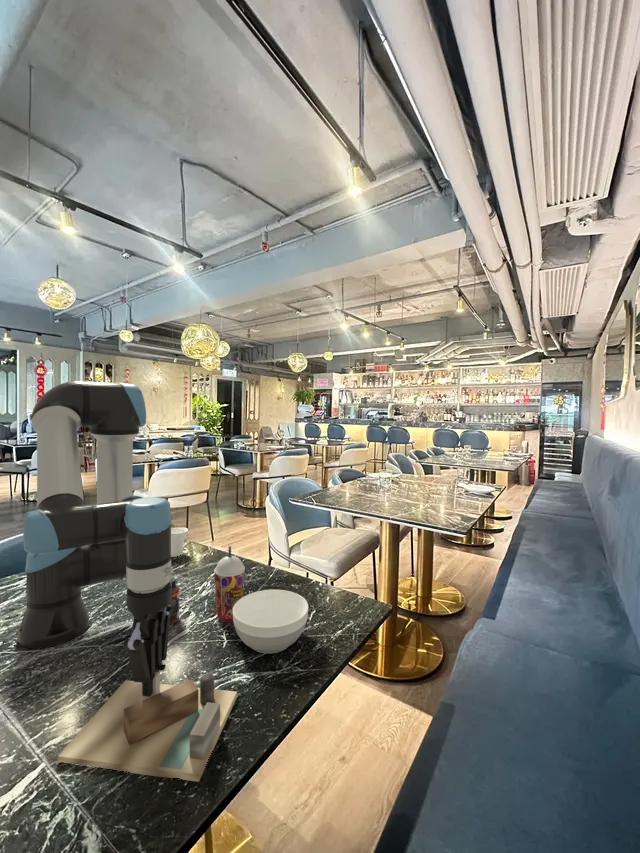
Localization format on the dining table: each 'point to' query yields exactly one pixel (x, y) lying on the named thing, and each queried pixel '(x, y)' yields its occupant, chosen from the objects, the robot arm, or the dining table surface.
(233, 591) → the smoothie
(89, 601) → the dining table surface
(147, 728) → the leg
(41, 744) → the dining table surface
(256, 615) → the bowl
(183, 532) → the cup
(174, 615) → the supplement bottle
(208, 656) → the dining table surface
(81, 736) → the board
